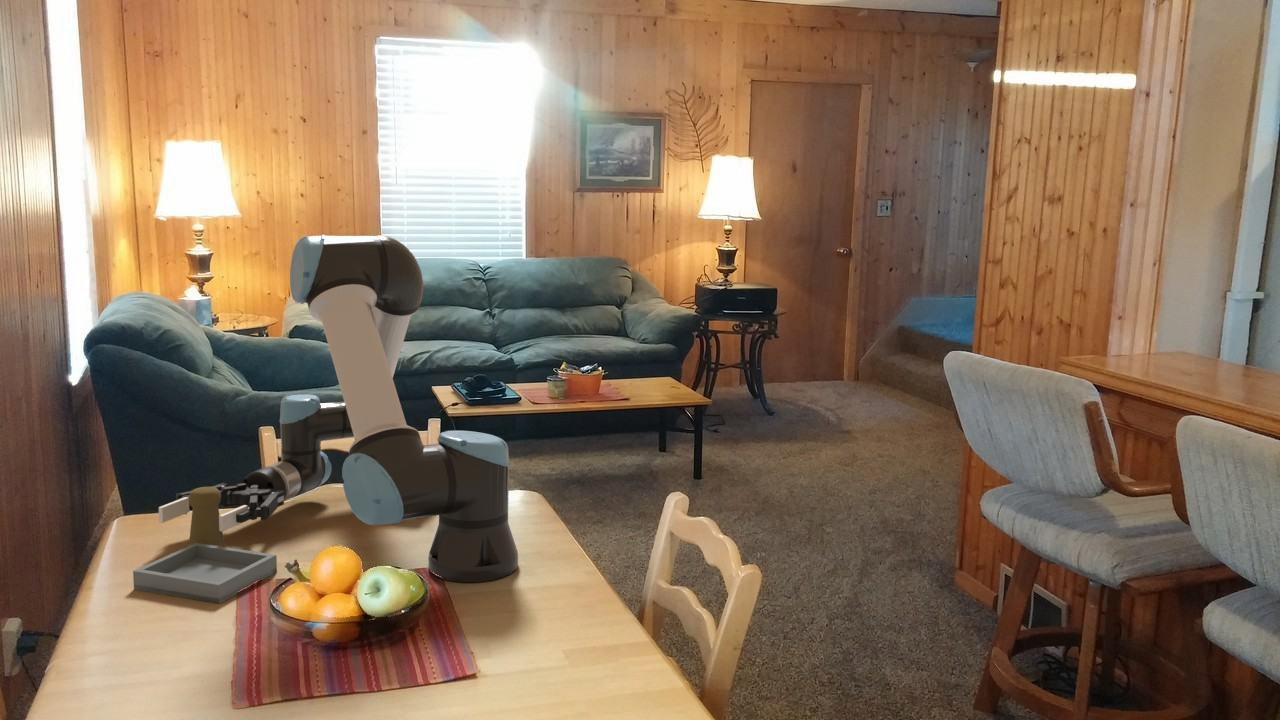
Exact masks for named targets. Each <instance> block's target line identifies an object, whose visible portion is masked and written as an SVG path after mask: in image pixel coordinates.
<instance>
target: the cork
mask: <svg viewBox="0 0 1280 720" xmlns="http://www.w3.org/2000/svg"><path fill="white" fill-rule="evenodd" d="M190 491H191V493H190V495H189V504H190V506H191V507H192V508H193V509H192V512H191V521H190V529H189V530H190V531H189V540H188V546H190V545H192V544H194V543H200V544H207V545H214V546H220V547H226V544H225V543H226V542H225V538H224V537H225V536H224V532H222V531H219V516H220V515H221V514H220V510H219V506H220V505H219V504H220V501H221V493H220V491H219V490H218V489H217V488H214V487H212V486H201V487H197V488H194V489H192V490H190Z"/></svg>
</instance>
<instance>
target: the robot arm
mask: <svg viewBox="0 0 1280 720" xmlns="http://www.w3.org/2000/svg"><path fill="white" fill-rule="evenodd" d="M290 261H291V262H290V270H289V285H290V286H289V288H290V294H291V297H292V300H294V302H295V303H297V304H301V305H304V304H307V306H308V307H307V308H308V311H309V314H310V316H311V317H312V318H313V319H314V320H317V321H318V322H321V323H322V326H323V332H324V334H325V337H326V341H327V345H328V350H329V351H330V352H329V353H330V356H331V359H332V363H333V367H334V369H335V373H336V378H337V380H338V384H339V387H340V391H341V395H342V398H343V401H338V402H336V401H334V402H325V403H321V400H320V398H319V396H317V395H315V394H307V393H306V394H291V395H288V396H285V397H284V398H282V400H281V401H280V408H279V411H280V412H279V415H280V416H279V426H280V429H279V430H280V447H281V448H280V449H281V451H280V452H281V453H280V458H281V459H280V461H277V462H275V463H272V464H269V465H267V466H264V467H263V468H262V467H261V468H260V469H257V470H255V471H252V472H250V473H249V474H248V475H246V476H245V477H244V479H243V481H242V482H241V483H237V484H236V485H230V486H227V482H222V483H221V482H220V483H218V484H216V485H213V486H211V487H214V488H217V489H218V490H219V491H220V493H221V501H220V504H219V505H218V506H223V507H225V508H227V507H234V506H238V507H237V508H234V509H232V510H229V511H226V512H224V513H222V514H220V516H219V531H222V532H223V533H224V532H226V531H228V530H230V529H232V528H234V527H237V526H239V525H241V524H244V523H245V522H248V521H249V520H251V521H255V520H257V519H258V518H260V520H261V521H267V520H269V519H270V518H271V516H272V515H273V514H274V513H275V511H276V510H277V509H278V508H279V507H281V506H284V505H285V504H284V503H285V502H286V501H287V500H290V499H293V498H294V497H297V496H299V495H302V494H304V493H306V492H310V491H312V490H315V489H316V488H317V487H319V486H321V485H322V484H324V483H326V481H328V479H329V478H330V476H331V474H332V464H331V462H330V459H329V457H328V456H327V454H326V453H325V452H324V451H322V450H321V449H322V448H321V443H322V442H324V441H325V442H326V441H332V440H333V441H334V440H340V439H349V438H354V441H353V442H352V444H351V445H350V446H349V448H348V456H347V457H346V458H345V460H344V462H343V463H342V464H343V465H342V469H341V477H342V480H343V481H344V482H343V483H342V487H343V490H344V495H345V498H346V500H347V503H348V505H349V508H350V509H351V511H352V512H353V513H354V515H355V516H356V518H357V519H358V520H360V521H361V522H363V523H364V524H366V525H370V526H381V525H396V524H399V523H401V522H403V523H404V522H406V521H411V520H412V521H413V520H419V519H423V518H424V519H425V518H431V517H436V516H438V525H437V529H436V531H435V534H434V538H433V540H432V542H431V543H432V544H431V547H430V550H429V553H428V568H427V569H428V570H429V569H430V570H431V571H432V572H434V573H435V574H437V575H439V576H441V577H442V578H443V579H442V578H441V579H442V580H446V581H451V582H457V583H483V582H489V581H495V580H499V579H502V578H505V577H507V576H509V575H508V574H510V573H511V572H513V571H514V570H515V569H516V568H517V569H518V567H519V553H518V549H517V545H516V542H515V540H514V537H513V534H512V530H511V528H510V525H509V491H510V489H509V483H510V481H509V480H510V477H509V476H510V475H509V474H510V472H509V471H510V470H509V469H510V466H511V463H510V458H509V457H510V456H509V455H510V454H509V447H508V444H507V442H506V441H505V440H504V439H503V438H501V437H499V436H496V435H494V434H490V433H485V432H479V431H478V432H477V431H472V430H471V431H470V430H445V431H442V432H441V433H439V435H438V437H437V442H438V443H435V444H425V445H424V444H423V441H422V438H421V435H420V432H419V430H418V429H416V428H415V427H413V426H410V425H408V424H407V421H406V418H405V415H404V412H403V409H402V405H401V402H400V398H399V395H398V391H397V388H396V384H395V382H394V379H393V378H394V375H395V371H396V367H397V364H398V361H399V358H400V356H401V352H402V351H401V350H402V348H403V345H404V341H405V339H406V334H407V330H408V328H409V323H410V321H411V318H412V317H411V316H412V315H415V314H416V313H418V311H419V309H420V306H421V302H422V300H423V296H424V295H423V294H424V280H423V273H422V269H421V267H420V264H419V263H418V261H417V259H416V257H415V255H414V254H413V253H412V252H411V251H410V249H409V248H408V247H407V246H405V244H403V243H402V242H401V241H398V240H397V239H395V238H393V237H389V236H387V235H379V234H378V235H377V234H376V235H375V234H374V235H325V234H324V233H323V234H320V235H307V236H303V237H301V238H300V239H298V241H297V242H296V243H295V246H294V248H293V251H292V256H291V260H290ZM191 491H192V490H190V491H189V490H188V491H184V492H180V493H176V495H175V498H176V499H175V500H174V501H172V502H168V503H166V504H164V505H160V506H159V507H158V521H159V522H158V523H161V524H163V523H166V522H168V521H171V520H174V519H176V518H179V517H181V516H184V515H188V513H190V510H193V508H192V507H191V506H190V504H189V495H190V493H191ZM228 495H229V501H228ZM517 566H518V567H517ZM517 569H516V570H517ZM516 570H515V571H516ZM515 571H514V572H515ZM514 572H513V573H514ZM511 574H512V573H511ZM511 574H510V575H511ZM506 575H507V576H506ZM504 576H505V577H504ZM501 577H502V578H501ZM498 578H499V579H498Z"/></svg>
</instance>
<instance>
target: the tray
mask: <svg viewBox="0 0 1280 720" xmlns="http://www.w3.org/2000/svg"><path fill="white" fill-rule="evenodd" d="M277 557H278V556H277V554H275V553H274V554H272V553H268V552H267V553H266V552H258V551H252V550H248V549H247V550H246V549H239V548H232V547H226V546H225V547H220V546H214V545H207V544H200V543H194V544H192V545H190V546H189V545H187V546H185V547H183V548H181V549H179V550H176V551H175V552H174V551H173V552H172V553H170V554H167V555H165V556H164V557H160V558H159V559H157V560H155V561H152V562H150V563H148V564H146V565H142V566H141V567H139V568H136V569H135V570H133V571H132V574H133V575H132V576H133V577H132V578H133V590H136V591H143V592H149V593H155V594H160V595H166V596H173V597H177V598H185V599H188V600H189V599H191V600H196V601H201V602H208V603H214V604H221V603H224V602H225V601H226V600H228V599H231V598H232V597H234V596H236V595H238V594H239V593H238V591H240V590H241V589H243V588H245V587H248V586H249V585H251V584H253V583H254V582H256V581H258V580H262V581H264V580H265V579H267V578H269V577H271V576H273V575H274V574H276V573H277V572H278V569H277V568H278V566H277V565H278V563H277ZM237 593H238V594H237Z"/></svg>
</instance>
